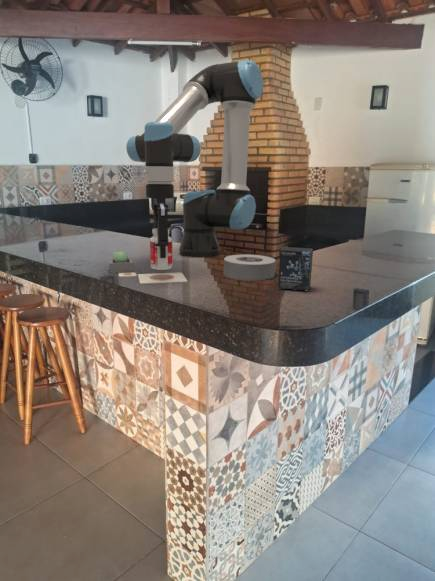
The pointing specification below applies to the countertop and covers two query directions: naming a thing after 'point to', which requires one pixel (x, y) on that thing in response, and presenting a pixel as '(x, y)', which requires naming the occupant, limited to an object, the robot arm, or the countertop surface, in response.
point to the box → (295, 268)
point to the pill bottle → (154, 250)
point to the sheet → (161, 278)
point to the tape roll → (249, 267)
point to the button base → (121, 266)
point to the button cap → (120, 256)
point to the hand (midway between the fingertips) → (161, 266)
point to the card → (127, 274)
